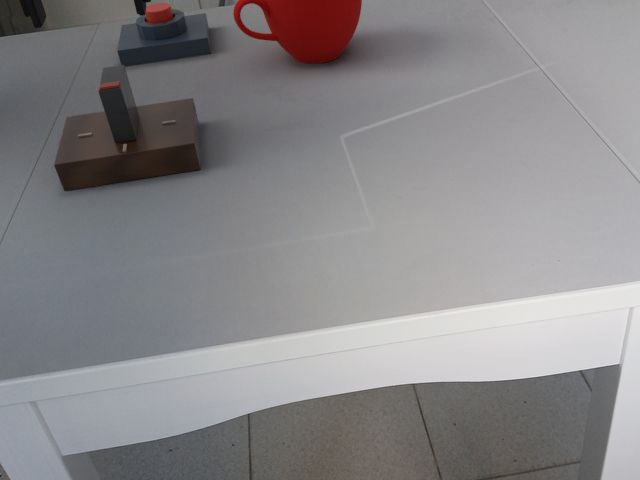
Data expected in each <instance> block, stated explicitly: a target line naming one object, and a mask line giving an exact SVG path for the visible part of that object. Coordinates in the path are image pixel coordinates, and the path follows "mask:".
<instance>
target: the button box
mask: <svg viewBox="0 0 640 480" xmlns="http://www.w3.org/2000/svg"><path fill="white" fill-rule="evenodd" d="M171 9H172V13H173V17H174V18H173V19H171V20H169V21H166V22H161V23H147V19H146V16H145V15H141V16H140V15H139V16H138V17H137V18H136V19H135V22H133V23H126V24H121V27H120V33H119V38H118V44H117V50H116V52H117V55H118V58H119V61H120V65H124V66H125V67H131V66H137V65H144V64H151V63H158V62H166V61H172V60H179V59H185V58H186V59H187V58H192V57H199V56H206V55H211V54H212V51H211V38H210V28H209V23H208V18H207V17H208V16H207V13H205V12H203V13H197V14H190V15H189V14H188V15H185V12H184V11H182V10H180V9H177V8H176V9H175V8H171Z"/></svg>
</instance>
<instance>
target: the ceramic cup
mask: <svg viewBox="0 0 640 480" xmlns="http://www.w3.org/2000/svg"><path fill="white" fill-rule="evenodd" d="M249 4H252V5H256V6H258V7H259V8H260V9H261V11H262V12H263V15H264V19H265V21H266V24H267V26H268V29H269V31H270V33H266V32H265V33H262V32H257V31H253V30H251V29H249V28H248V27H247V26H246V25H245V24H244V22H243V21H242V20H243V19H242V17H241V16H242V15H241V13H242V10H243V8H244V7H245V6H247V5H249ZM362 5H363V0H237V1H236V3H235V4H234V7H233V13H232V14H233V19H234V23H235V25H236V26H237V27H238V28H239V30H240V31H241V32H242V33H243V34H245V35H246V36H248V37H250V38H253V39H256V40H260V41H270V42H277V43H278V45H279V46H280V47H281V48H282V49H283V50H284V51H285V52H287V54H288V55H290V56H291V57H292V59H293V60H294V61H297V62H298V63H303V64H322V63H327V62H330V61H333V60H335V59H337V58H339V57H340V56H341V55H342V54H343V52H344V50H345V49H346V47H348V45H349V44H350V42H351V40H352V39H353V37H354V35H355V34H356V33H355V32H356V30H357V28H358V25H359V22H360V17H361V12H362Z"/></svg>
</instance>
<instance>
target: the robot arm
mask: <svg viewBox="0 0 640 480" xmlns="http://www.w3.org/2000/svg"><path fill="white" fill-rule="evenodd" d="M18 2H19V4H20V7H21V9H22V12H23V15H24V17H26V18H27V17H30V19H31V23H32V25H33V28H34V29H40V28H42V27H43V26H44V23H45V22H46V19H47V13H46V10H45V7H44V4H43V0H18ZM147 3H152V0H133V4H134V7H135V11H136V14H137V15H139V17H140V16H141V15H145V14H146V7H147Z"/></svg>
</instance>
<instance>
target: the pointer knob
mask: <svg viewBox="0 0 640 480" xmlns="http://www.w3.org/2000/svg"><path fill="white" fill-rule="evenodd" d="M130 83H131V82H130V80H129V76H128V73H127V70H126V66H124V65H121V64H119V65H113V66H107V67H102V71H101V77H100V81H99V86H98V90H97V91H98V95H99V98H100V101H101V104H102V107H103V111H105V114H106V117H107V120H108V123H109V126H110V129H111V132H112V135H113V139H114V142H115V143H120V142H127V141H133V140H136V139H137V128H138V117H139V114H138V110H137V104H136V100H135V97H134V94H133V90H132V87H131V84H130Z"/></svg>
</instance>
